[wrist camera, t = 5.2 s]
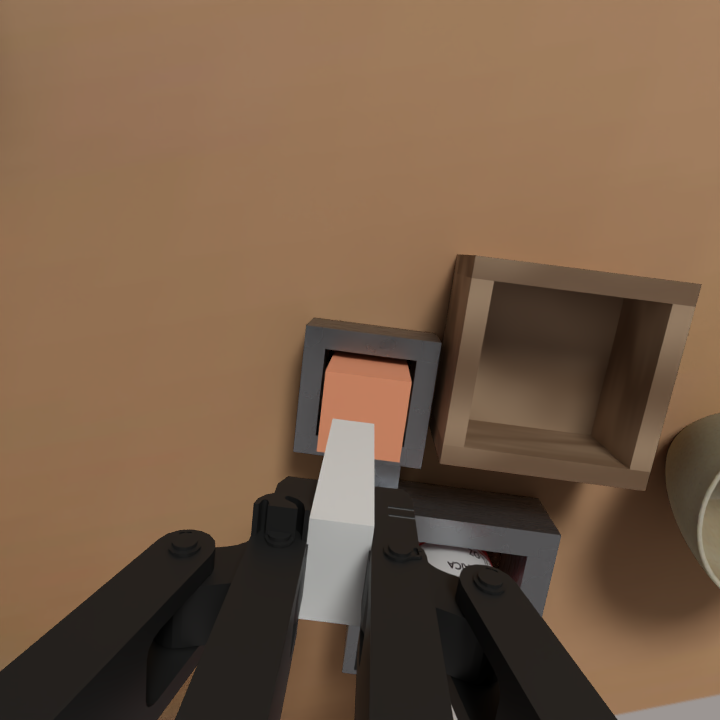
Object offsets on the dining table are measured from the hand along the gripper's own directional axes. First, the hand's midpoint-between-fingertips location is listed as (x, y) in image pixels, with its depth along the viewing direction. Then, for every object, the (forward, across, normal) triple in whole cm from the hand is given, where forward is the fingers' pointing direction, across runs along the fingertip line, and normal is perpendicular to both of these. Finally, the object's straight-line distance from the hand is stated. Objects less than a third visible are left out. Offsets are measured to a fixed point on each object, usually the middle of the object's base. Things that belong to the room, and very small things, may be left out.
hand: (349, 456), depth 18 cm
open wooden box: (+11, +10, +2) cm, 15 cm away
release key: (+11, +1, -1) cm, 11 cm away
